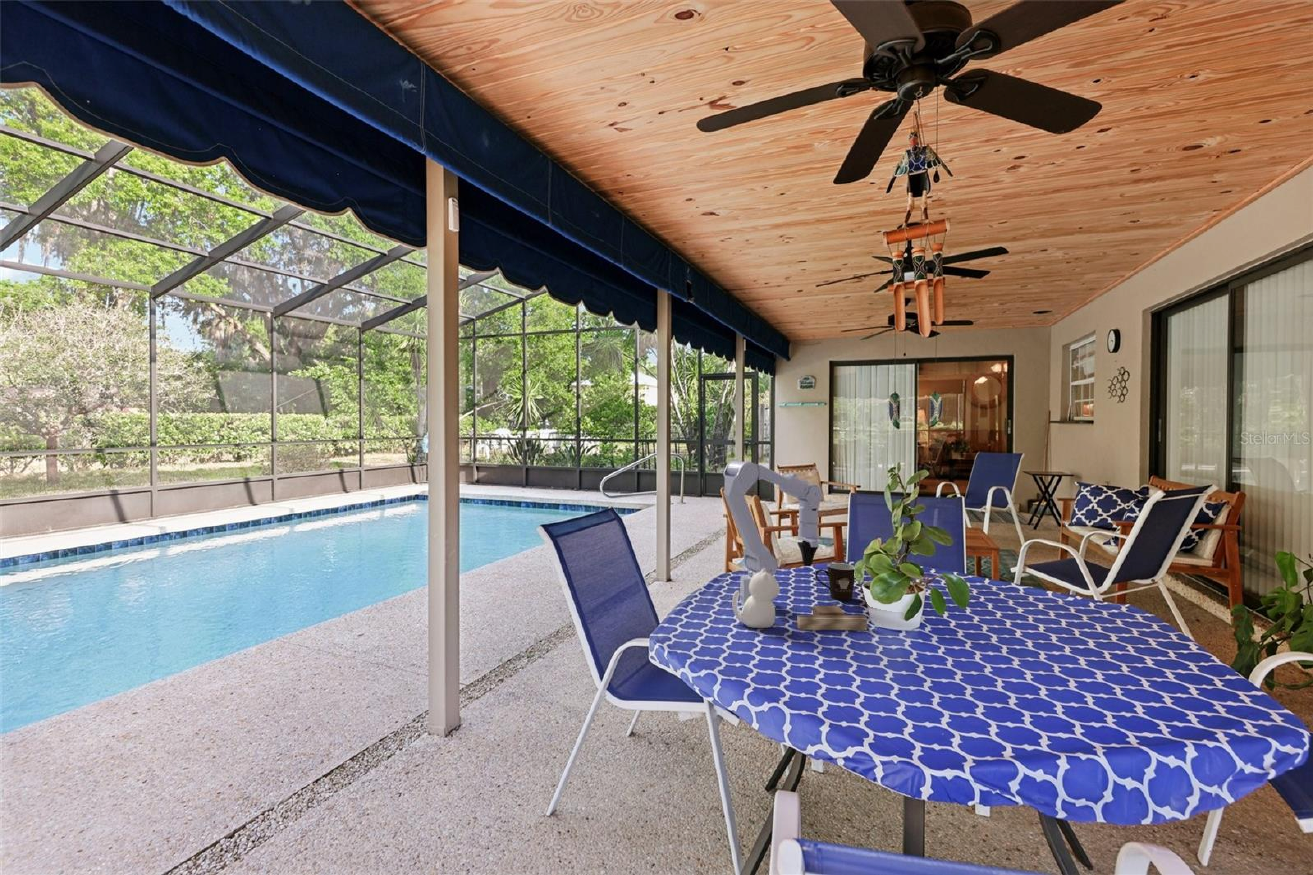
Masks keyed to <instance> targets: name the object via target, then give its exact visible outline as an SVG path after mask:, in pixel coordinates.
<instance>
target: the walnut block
mask: <svg viewBox="0 0 1313 875" xmlns="http://www.w3.org/2000/svg"><path fill="white" fill-rule="evenodd" d="M845 614H846V612H845V611H844V610H843V609H842V608H841V607H839V606H838V605H812V616H846V615H845Z"/></svg>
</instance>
